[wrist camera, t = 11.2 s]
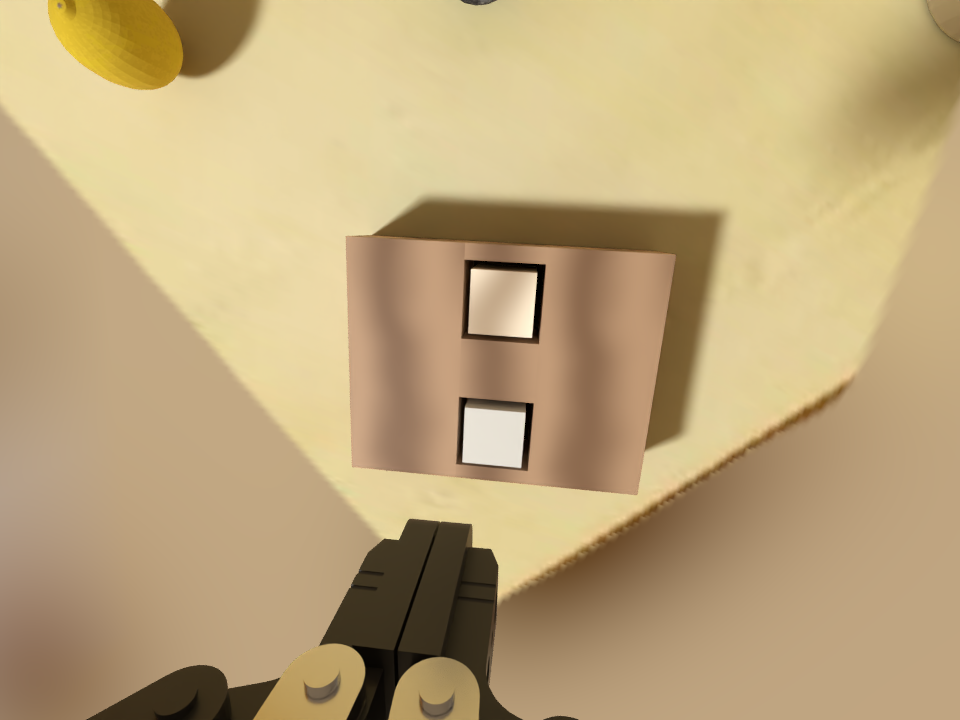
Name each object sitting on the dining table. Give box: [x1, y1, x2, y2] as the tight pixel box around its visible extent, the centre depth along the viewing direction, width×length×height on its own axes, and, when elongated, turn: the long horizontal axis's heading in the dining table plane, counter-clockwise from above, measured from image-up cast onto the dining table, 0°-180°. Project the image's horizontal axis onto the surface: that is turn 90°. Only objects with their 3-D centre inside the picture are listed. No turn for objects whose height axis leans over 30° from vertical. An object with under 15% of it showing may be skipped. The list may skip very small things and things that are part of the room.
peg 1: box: [468, 263, 537, 338], centre depth 31 cm, size 4×4×5 cm
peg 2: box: [462, 398, 526, 468], centre depth 33 cm, size 4×4×5 cm
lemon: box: [48, 0, 183, 90], centre depth 28 cm, size 6×6×8 cm
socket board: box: [346, 235, 676, 495], centre depth 33 cm, size 20×16×5 cm
